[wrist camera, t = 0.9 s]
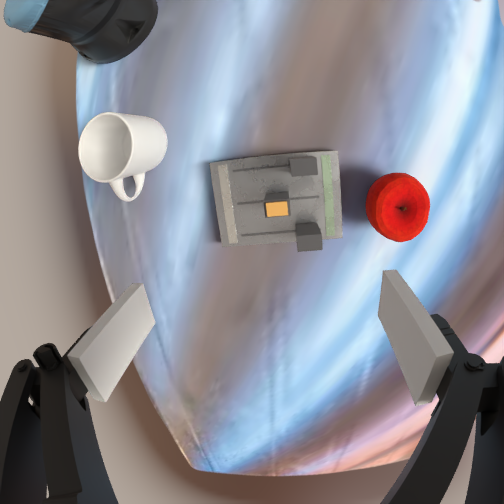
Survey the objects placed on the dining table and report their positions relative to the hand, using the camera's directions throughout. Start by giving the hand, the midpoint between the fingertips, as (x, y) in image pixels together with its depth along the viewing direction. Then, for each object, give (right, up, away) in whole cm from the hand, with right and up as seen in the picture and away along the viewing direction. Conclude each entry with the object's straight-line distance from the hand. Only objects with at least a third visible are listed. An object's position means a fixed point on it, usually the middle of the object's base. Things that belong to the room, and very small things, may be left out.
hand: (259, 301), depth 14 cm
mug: (-17, +17, +24) cm, 34 cm away
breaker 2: (+7, +6, +23) cm, 25 cm away
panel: (+3, +10, +24) cm, 26 cm away
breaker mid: (+3, +9, +22) cm, 24 cm away
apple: (+19, +10, +23) cm, 31 cm away
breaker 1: (+6, +14, +20) cm, 25 cm away
